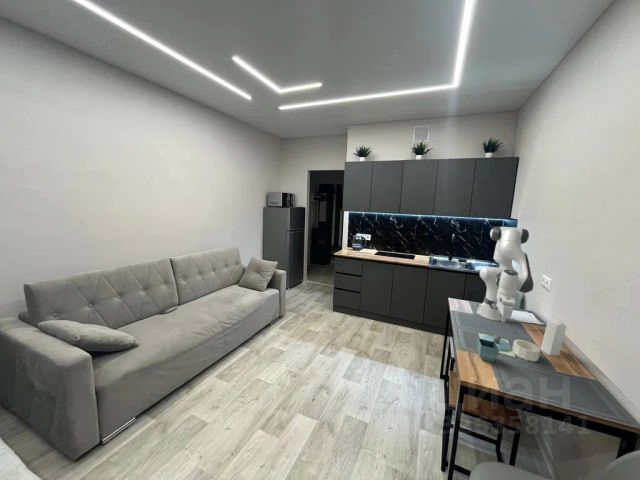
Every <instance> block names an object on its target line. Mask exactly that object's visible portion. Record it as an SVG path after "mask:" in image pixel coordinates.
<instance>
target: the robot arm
mask: <svg viewBox="0 0 640 480" xmlns="http://www.w3.org/2000/svg"><path fill="white" fill-rule="evenodd" d="M489 235H490V239H491V240H492V241H496V244H495V249H494V252H493V260H494V261H495V262H496V263H498V264H499V267H497V266H495V267H493V266H487V267H486V266H484V267H482V268H481V269H480V270H479V277H480V279H482V280H483V282H484V283H485V286H486V292H485V296H484V299H483V302H482V303H479V304H478V305H479V306H478V307H477V311H476V314H477V315H479V316H481V317H483V318H484V319H488V320H491V321H497V322H499V321H500V322H501V323H503V324H505V323H506V320H507V319H510V318H511V317H512V315H513V310H514V307H515V306H516V295H517V292H520V293H523V294H527V293H530V292H532V291H533V289H534V280H533V277H532V273H531V271H532V270H531V267H530V261H529V257H528V254H527V253H526V252H525V251H524V250H523V248H522V246H521V245H523V244H525V243H527V242H528V240H530V233H529V230H528V229H526V228H518V227H514V226H513V227H512V226H510V227H509V226H498V225H497V226H493V227H492V229H490V232H489ZM513 261H514V262H515V263H517V264H518V265H519V266H520V273H521V275H520V274H519V273H518V271H517V270H515V268H514V267H513Z"/></svg>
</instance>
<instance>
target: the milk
mask: <svg viewBox="0 0 640 480" xmlns="http://www.w3.org/2000/svg"><path fill="white" fill-rule="evenodd" d="M566 331H567V325H566V324H564V320H562V319H561V318H559V317H557V316H553V317H552V318H550V319H549V320H547V323H546V327H545V331H544V335H543V339H542V343H541V348H540V349H541V351H542V352H544V353H546V354H547V355H549V356H560V352H561V350H562V345H563V341H564V339H565V334H566Z"/></svg>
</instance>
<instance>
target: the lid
mask: <svg viewBox="0 0 640 480" xmlns="http://www.w3.org/2000/svg"><path fill="white" fill-rule="evenodd" d="M500 338H501V336H500V335H497V334H494V335H489V336H483V337H482V339H484V340H489V341H493V342H495V343H496V344H497V346H498V348H499V351H510V350H511V348H512V346H511V345H510V342H509V343H507V342H506V341H504V340H502V339H503V338H501V339H500Z"/></svg>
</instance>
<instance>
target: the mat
mask: <svg viewBox="0 0 640 480" xmlns="http://www.w3.org/2000/svg"><path fill="white" fill-rule="evenodd" d="M483 336H490V335H488V334H485V333H480V332H478V338H480V339H482V337H483ZM500 339H502V340H504V341H506V342H507V343H509V344H510V342H509V340H508V339H504V338H500ZM499 354H500V355H503V356H507V357H509V358H510V357H511V358H514V359H516V358H517V357H516V355H515V354H514V352H513V350H512V347H511V350H510V351H499V353H498V355H499Z"/></svg>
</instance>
